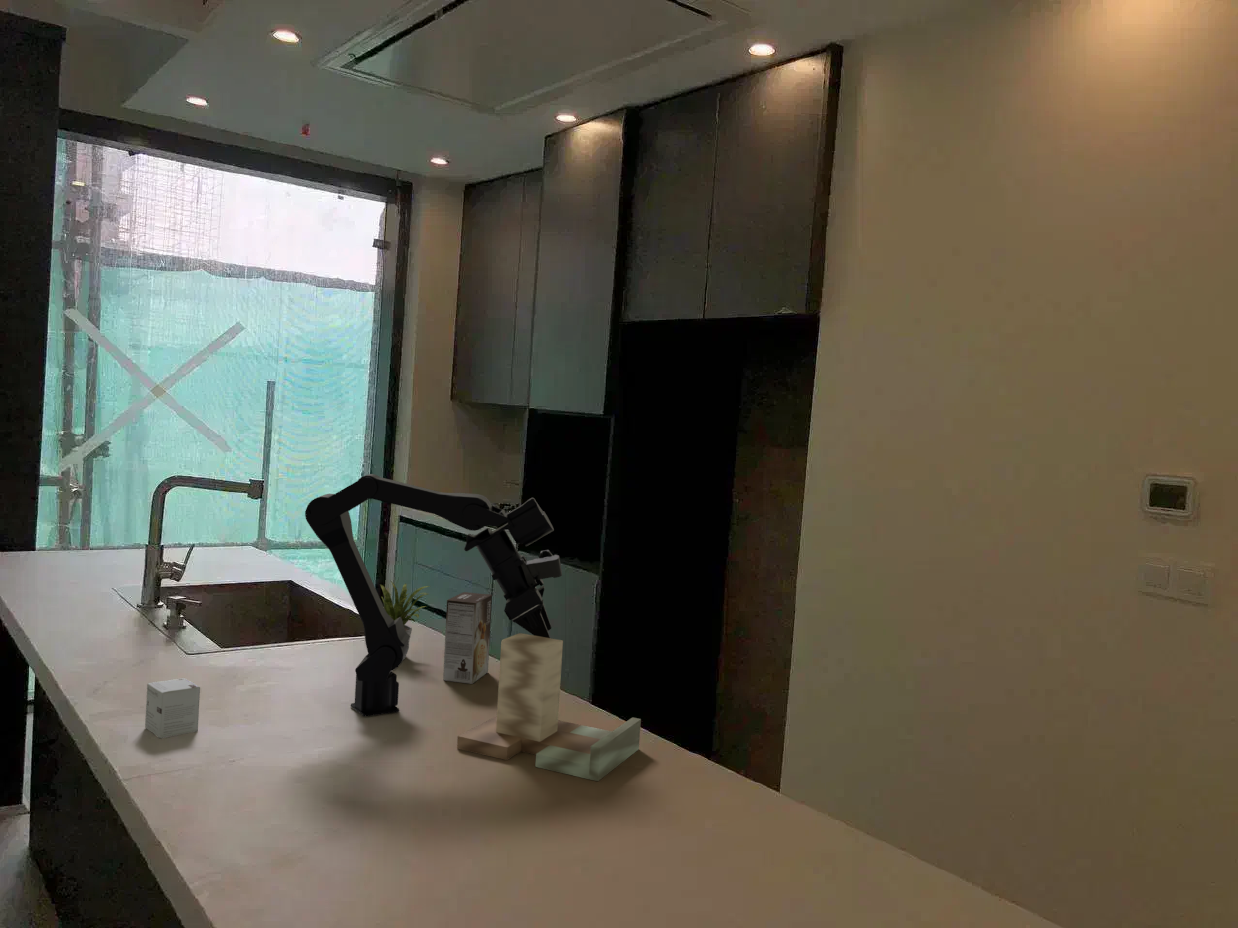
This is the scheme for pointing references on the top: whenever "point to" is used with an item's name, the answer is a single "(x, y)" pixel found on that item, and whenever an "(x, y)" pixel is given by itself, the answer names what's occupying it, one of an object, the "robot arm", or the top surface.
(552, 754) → the trap runway
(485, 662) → the coffee box
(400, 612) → the house plant
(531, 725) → the beech block
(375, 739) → the top surface
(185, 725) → the skincare box
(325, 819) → the top surface
